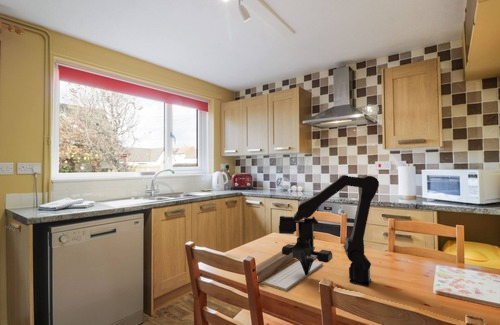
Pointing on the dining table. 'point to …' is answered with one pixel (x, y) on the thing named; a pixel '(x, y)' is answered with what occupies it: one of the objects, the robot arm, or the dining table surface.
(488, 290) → the dining table surface
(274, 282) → the baseboard molding
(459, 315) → the dining table surface
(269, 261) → the walnut plank
